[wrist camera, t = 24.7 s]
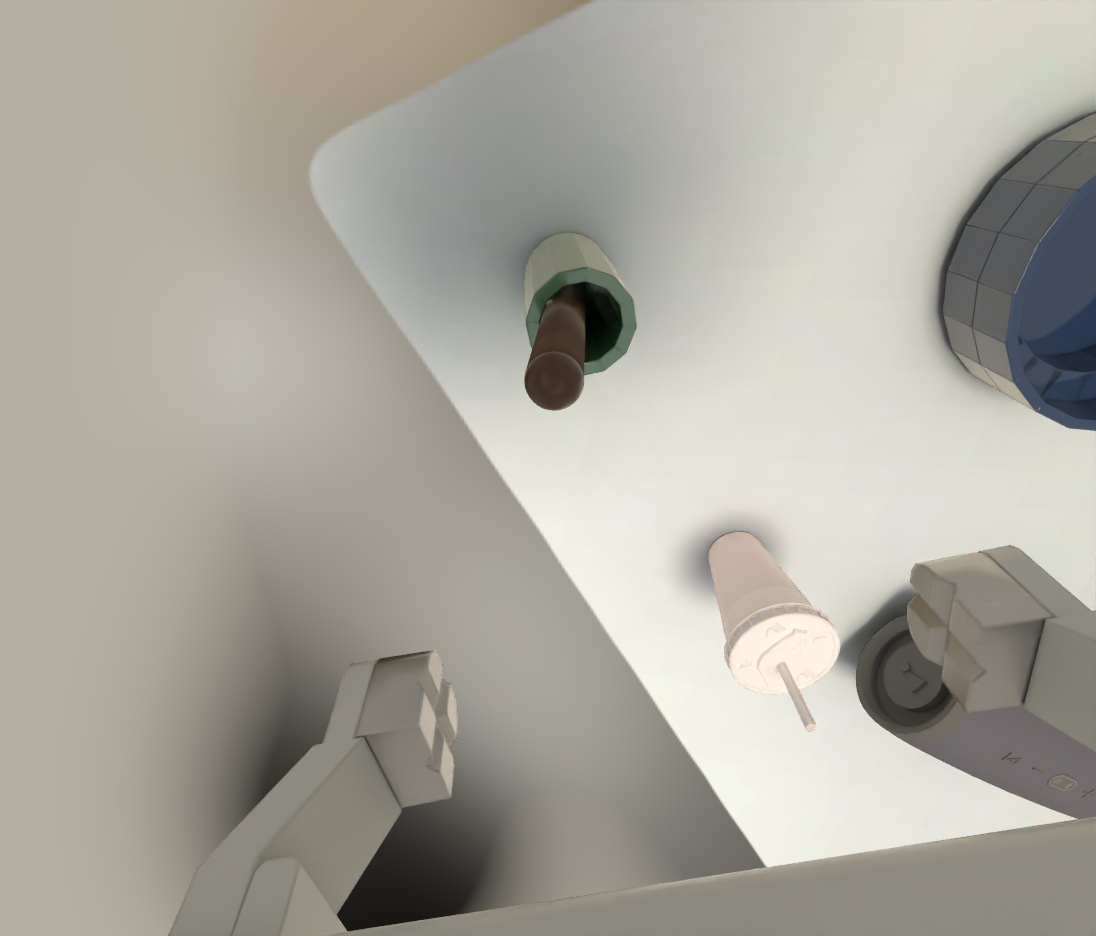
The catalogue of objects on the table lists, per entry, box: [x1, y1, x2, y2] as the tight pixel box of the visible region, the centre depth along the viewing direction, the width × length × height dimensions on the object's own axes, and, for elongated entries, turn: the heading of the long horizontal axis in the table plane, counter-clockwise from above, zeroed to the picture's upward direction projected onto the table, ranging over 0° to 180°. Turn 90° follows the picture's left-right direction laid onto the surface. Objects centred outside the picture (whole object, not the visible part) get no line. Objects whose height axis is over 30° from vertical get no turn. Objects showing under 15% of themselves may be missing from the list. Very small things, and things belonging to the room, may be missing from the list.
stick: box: [525, 282, 586, 411], centre depth 26 cm, size 2×2×18 cm
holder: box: [524, 232, 637, 375], centre depth 31 cm, size 5×5×9 cm
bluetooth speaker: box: [856, 615, 1096, 819], centre depth 47 cm, size 23×9×10 cm, turn 59°
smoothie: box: [708, 532, 840, 731], centre depth 38 cm, size 6×6×14 cm
